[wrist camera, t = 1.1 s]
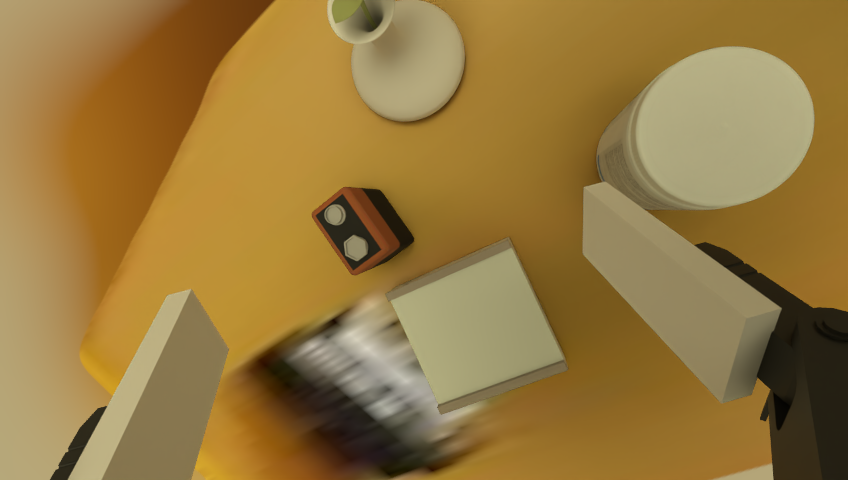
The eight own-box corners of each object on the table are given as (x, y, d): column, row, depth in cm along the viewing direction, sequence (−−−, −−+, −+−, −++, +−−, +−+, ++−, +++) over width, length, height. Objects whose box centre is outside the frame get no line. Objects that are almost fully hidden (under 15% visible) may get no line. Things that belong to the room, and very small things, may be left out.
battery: (384, 263, 46) (347, 280, 36) (349, 211, 46) (302, 214, 36) (417, 240, 44) (387, 251, 35) (379, 187, 45) (340, 183, 35)
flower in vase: (434, 143, 43) (320, 70, 19) (340, 95, 45) (126, -28, 21) (496, 18, 41) (457, -249, 16) (394, -27, 43) (224, -329, 18)
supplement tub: (696, 215, 38) (800, 223, 24) (586, 202, 40) (621, 203, 26) (717, 105, 37) (838, 45, 23) (602, 98, 39) (648, 39, 25)
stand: (508, 236, 42) (507, 239, 39) (564, 356, 42) (568, 370, 39) (395, 286, 45) (385, 294, 42) (447, 398, 45) (440, 414, 42)
